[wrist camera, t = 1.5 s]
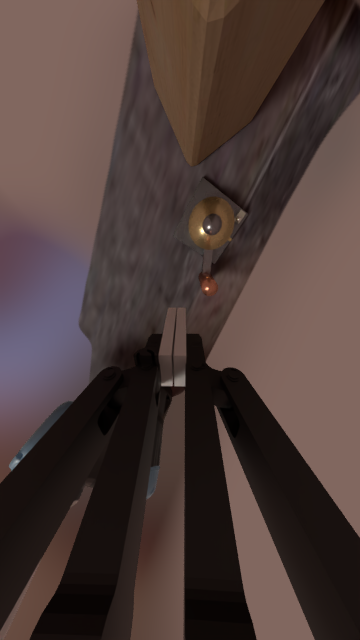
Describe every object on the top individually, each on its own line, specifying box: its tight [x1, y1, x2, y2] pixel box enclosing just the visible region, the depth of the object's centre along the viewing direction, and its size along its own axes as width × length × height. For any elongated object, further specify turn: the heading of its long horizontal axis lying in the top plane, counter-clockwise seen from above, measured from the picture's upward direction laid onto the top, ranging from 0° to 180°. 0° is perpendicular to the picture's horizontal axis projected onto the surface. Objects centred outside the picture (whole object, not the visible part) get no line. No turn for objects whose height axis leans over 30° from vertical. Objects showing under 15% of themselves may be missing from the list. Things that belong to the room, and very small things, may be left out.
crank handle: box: [188, 197, 235, 296], centre depth 24 cm, size 13×7×7 cm, turn 0°
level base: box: [173, 177, 248, 264], centre depth 26 cm, size 9×9×2 cm
